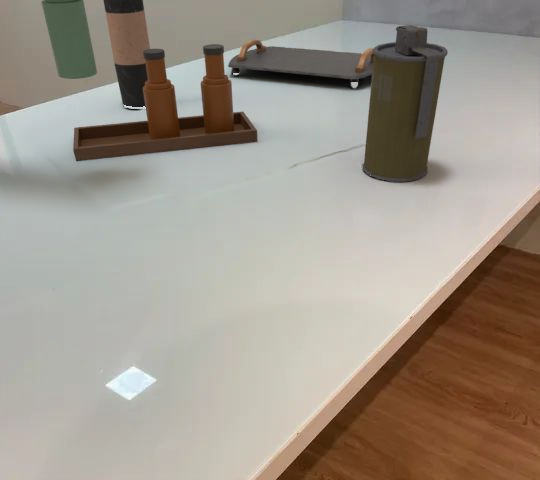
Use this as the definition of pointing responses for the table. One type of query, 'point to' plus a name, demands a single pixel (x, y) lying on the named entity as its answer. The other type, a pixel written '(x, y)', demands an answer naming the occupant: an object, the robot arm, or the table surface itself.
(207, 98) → the amber bottle far
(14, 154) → the table surface
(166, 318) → the table surface
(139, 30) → the travel mug
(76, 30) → the green bottle
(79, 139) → the row tray
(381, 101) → the canister
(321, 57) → the serving tray
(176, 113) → the amber bottle mid
